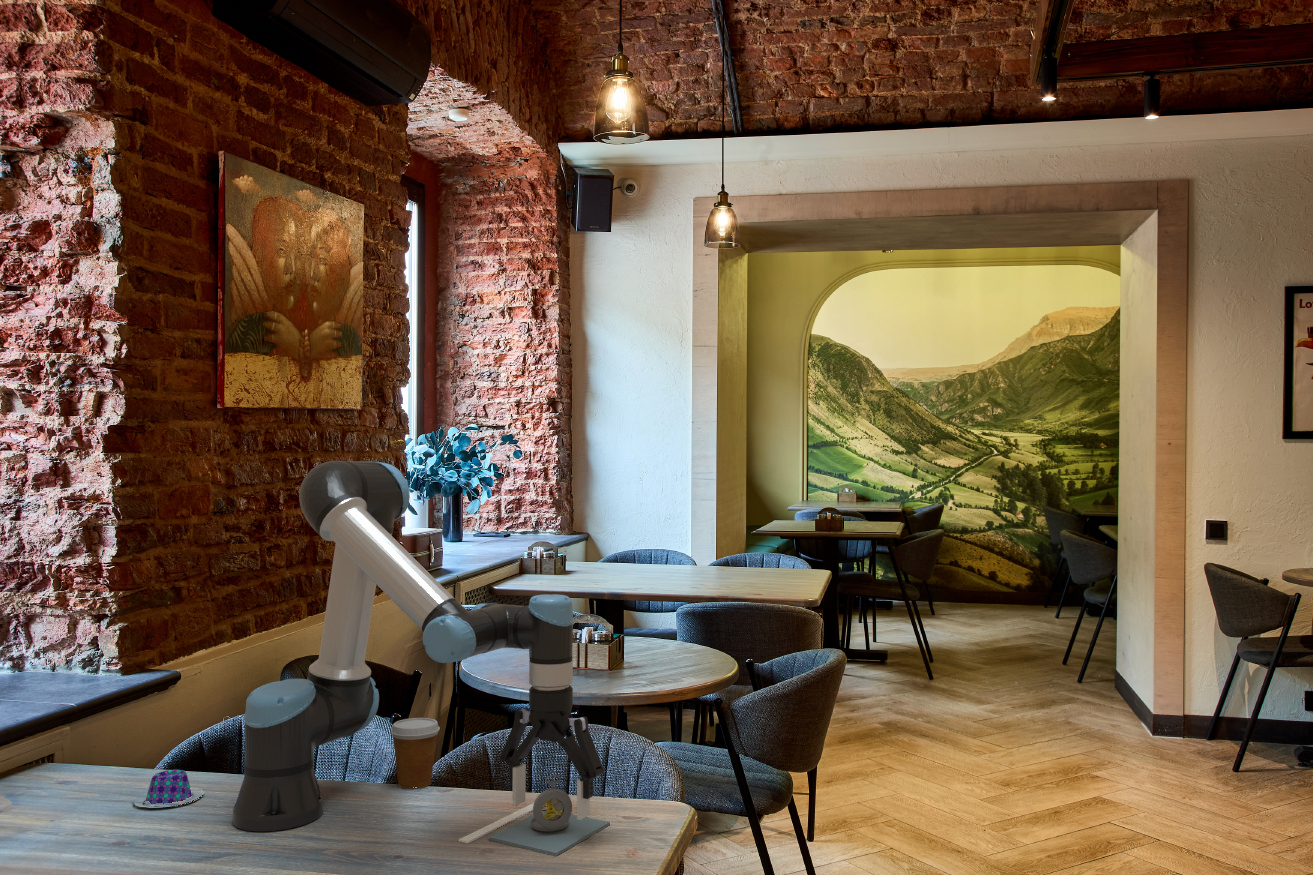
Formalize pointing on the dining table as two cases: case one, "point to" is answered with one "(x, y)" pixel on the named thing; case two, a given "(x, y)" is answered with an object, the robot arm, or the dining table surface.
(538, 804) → the pocket watch
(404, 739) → the disposable coffee cup
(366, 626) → the robot arm
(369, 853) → the dining table surface
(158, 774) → the purple domed brimmed part
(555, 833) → the mat
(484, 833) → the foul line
